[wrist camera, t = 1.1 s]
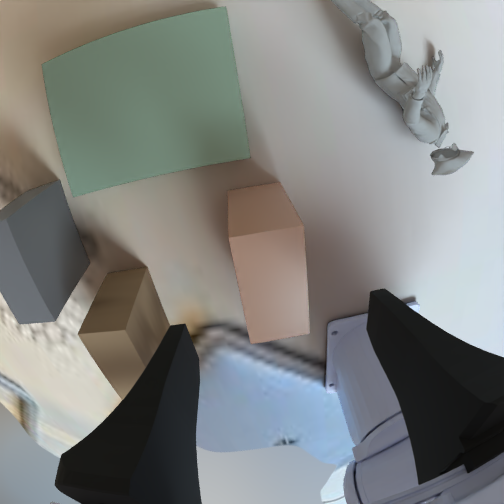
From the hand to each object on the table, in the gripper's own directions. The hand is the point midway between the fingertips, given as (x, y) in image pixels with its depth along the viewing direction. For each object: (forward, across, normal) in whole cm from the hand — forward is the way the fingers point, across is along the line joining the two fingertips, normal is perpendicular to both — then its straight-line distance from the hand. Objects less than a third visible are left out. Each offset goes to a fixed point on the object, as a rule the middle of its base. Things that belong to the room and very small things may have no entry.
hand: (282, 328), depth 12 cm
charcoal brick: (+8, +13, -3) cm, 16 cm away
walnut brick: (+8, +9, +4) cm, 13 cm away
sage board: (+8, +5, -9) cm, 13 cm away
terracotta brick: (+8, 0, 0) cm, 8 cm away
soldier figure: (+9, -9, -9) cm, 15 cm away
